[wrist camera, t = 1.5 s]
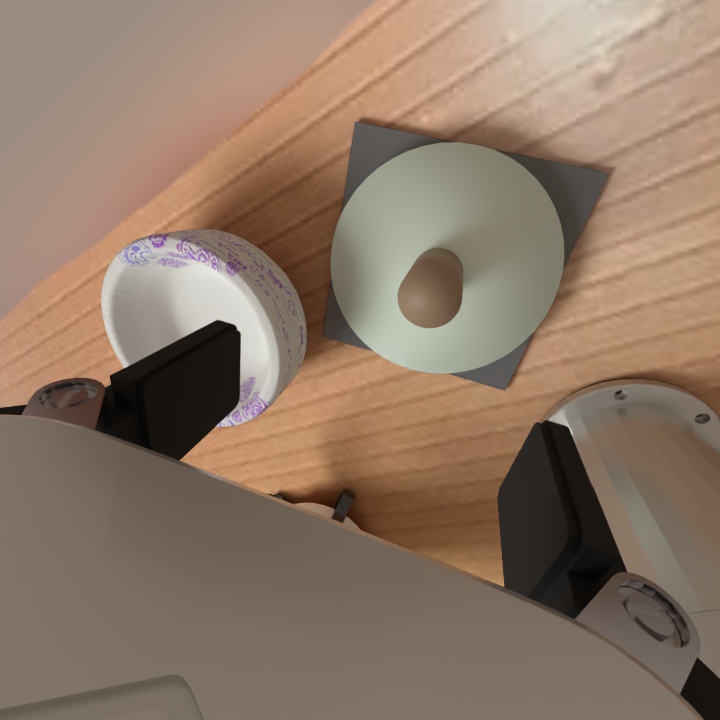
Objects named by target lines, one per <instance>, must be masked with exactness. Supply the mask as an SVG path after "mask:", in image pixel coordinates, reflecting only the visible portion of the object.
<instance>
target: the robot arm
mask: <svg viewBox="0 0 720 720" xmlns="http://www.w3.org/2000/svg"><path fill="white" fill-rule="evenodd" d="M240 358H241V333H240V331H239V330H237V327H236V326H235V325H234V324H231V323H227V322H224V321H221V320H216V321H214V322H212V323H210V324H208V325H206V326H204V327H202V328H200V329H198V330H196V331H195V332H193V333H191V334H189V335H187V336H185V337H183V338H181V339H179V340H177V341H175V342H174V343H172V344H170V345H168V346H166V347H164V348H162V349H160V350H158V351H156V352H154V353H152V354H151V355H149V356H147V357H145V358H143V359H141V360H139V361H137V362H135V363H133V364H131V365H130V366H128V367H126V368H124V369H122V370H120V371H118V372H116V373H114V374H112V375H110V380H111V385H109V386H108V387H106V388H105V386H104V385H103V384H102V383H101V382H99V381H97V380H94V379H89V378H71V379H64V380H60V381H56V382H53V383H51V384H48V385H46V386H43V387H42V388H40V389H39V390H37V391H36V392H35V393H34V394H33V395H32V397H31V398H30V400H29V402H28V404H27V405H21V406H12V407H4V408H0V720H720V419H719V418H718V416H717V415H716V414H715V413H714V412H713V411H712V410H711V409H710V408H709V407H708V406H707V405H706V404H705V403H704V402H703V401H702V400H700V399H699V398H698V397H696V396H695V395H694V394H692V393H690V392H688V391H686V390H684V389H682V388H680V387H678V386H675V385H671V384H668V383H664V382H660V381H654V380H645V379H620V380H614V381H608V382H602V383H599V384H595V385H592V386H589V387H586V388H583V389H581V390H579V391H577V392H575V393H573V394H571V395H569V396H568V397H566V398H565V399H563V400H562V401H560V402H559V403H558V404H556V405H555V406H554V407H553V408H552V409H551V410H550V411H549V412H548V413H547V414H546V416H545V417H544V419H543V420H542V422H541V423H538V422H537V423H535V424H534V426H533V428H532V429H531V431H530V433H529V435H528V437H527V439H526V440H525V442H524V444H523V446H522V448H521V450H520V452H519V453H518V455H517V457H516V459H515V461H514V463H513V465H512V466H511V468H510V470H509V472H508V474H507V476H506V477H505V479H504V481H503V483H502V485H501V487H500V489H499V493H498V510H499V523H500V535H501V548H502V560H503V573H504V586H505V587H502V586H500V585H497V584H495V583H492V582H490V581H488V580H485V579H483V578H480V577H478V576H475V575H473V574H470V573H468V572H465V571H463V570H460V569H458V568H456V567H453V566H451V565H448V564H446V563H443V562H441V561H438V560H435V559H433V558H430V557H428V556H425V555H423V554H420V553H418V552H415V551H412V550H410V549H407V548H405V547H402V546H400V545H397V544H395V543H392V542H389V541H387V540H384V539H382V538H379V537H377V536H374V535H372V534H369V533H367V532H364V531H361V530H359V529H356V528H354V527H351V526H349V525H346V524H343V523H341V522H338V521H336V520H333V519H331V518H328V517H325V516H323V515H320V514H318V513H315V512H312V511H310V510H307V509H305V508H302V507H299V506H297V505H294V504H292V503H289V502H287V501H284V500H281V499H279V498H276V497H273V496H271V495H268V494H266V493H263V492H260V491H258V490H255V489H253V488H250V487H247V486H245V485H242V484H240V483H237V482H234V481H232V480H229V479H226V478H224V477H221V476H219V475H216V474H213V473H211V472H208V471H205V470H203V469H200V468H197V467H195V466H192V465H189V464H187V463H184V462H182V461H179V460H180V459H181V458H183V457H184V456H185V455H186V454H187V453H188V452H189V451H190V450H191V449H192V448H193V447H194V446H195V445H196V444H197V443H199V442H200V441H201V440H202V439H203V438H204V437H205V436H206V435H207V434H208V433H209V432H210V431H211V430H212V429H214V428H215V427H216V426H217V425H218V424H219V423H220V422H221V421H222V420H223V419H224V418H225V417H226V416H227V415H228V414H230V413H231V412H232V411H233V410H234V409H235V408H236V406H237V405H238V403H239V399H240Z"/></svg>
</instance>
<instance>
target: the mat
mask: <svg viewBox="0 0 720 720" xmlns="http://www.w3.org/2000/svg"><path fill="white" fill-rule="evenodd" d="M451 142H453V141H448V140H443V139H438V138H433V137H428V136H423V135H418V134H413V133H408V132H403V131H398V130H393V129H388V128H383V127H379V126H374V125H369V124H364V123H359V122H355V125H354V132H353V139H352V145H351V152H350V159H349V165H348V172H347V179H346V185H345V192H344V199H343V205H342V212H343V210H344V208H345V206H346V204H347V203H348V201H349V200H350V198H351V197H352V195H353V194H354V192H355V191H356V190H357V188H358V187H359V186H360V185H361V184H362V183H363V181H364V180H365V179H366V178H367V177H369V176H370V175H371V174H372V173H373V172H374V171H375V170H376V169H377V168H379V167H380V166H382V165H383V164H385V163H386V162H388V161H389V160H391V159H392V158H394V157H396V156H398V155H401V154H403V153H405V152H407V151H409V150H412V149H415V148H419V147H422V146H426V145H431V144H437V143H451ZM496 151H497V150H496ZM498 152H500V153H502V154H504V155H506V156H509V157H510V158H512V159H513V160H515V161H516V162H518V163H519V164H521V165H522V166H523V167H525V168H526V169H527V170H528V171H529V172H530V173H531V174H532V175H533V176H534V177H535V178H536V179H537V180H538V181H539V183H540V184H541V185H542V187H543V188H544V189H545V191H546V192H547V194H548V195H549V197H550V199H551V201H552V203H553V205H554V206H555V209H556V212H557V215H558V217H559V220H560V223H561V228H562V233H563V239H564V265H563V269H564V266H565V264H566V262H567V260H568V258H569V256H570V254H571V252H572V250H573V248H574V246H575V243H576V241H577V239H578V237H579V235H580V233H581V231H582V229H583V227H584V225H585V222H586V220H587V218H588V216H589V214H590V212H591V210H592V208H593V206H594V204H595V202H596V199H597V197H598V195H599V193H600V191H601V189H602V187H603V185H604V183H605V181H606V178H607V176H608V174H609V173H606V172H601V171H596V170H591V169H586V168H581V167H576V166H571V165H567V164H562V163H557V162H552V161H547V160H542V159H537V158H532V157H527V156H522V155H517V154H512V153H507V152H502V151H498ZM342 212H341V214H342ZM532 334H533V333H532ZM532 334H531V335H530V336H529V337H528V338H527V339H526V340H525V341H524V342H523V343H522V344H521V345H519V346H518V347H517V348H516V349H514V350H513V351H512V352H510V353H508V354H507V355H505V356H504V357H502V358H500V359H498V360H496V361H494V362H492V363H490V364H488V365H485V366H482V367H479V368H476V369H473V370H468V371H464V372H458V373H448V374H451V375H454V376H458V377H461V378H464V379H468V380H471V381H474V382H478V383H481V384H485V385H488V386H491V387H495V388H498V389H501V390H506V388H507V386H508V384H509V382H510V380H511V378H512V376H513V373H514V371H515V369H516V367H517V365H518V363H519V361H520V359H521V357H522V355H523V352H524V350H525V348H526V346H527V344H528V342H529V340H530V338H531V336H532ZM323 337H327V338H330V339H333V340H337V341H340V342H343V343H347V344H350V345H354V346H357V347H360V348H364V349H367V350H370V351H373V350H372V349H371V348H369V347H368V346H367V345H366V344H365V343H364V342H363V341H362V340H361V339H360V338H359V337H358V336H357V335H356V334H355V332H354V331H353V330H352V328H351V327H350V326H349V324H348V323H347V321H346V319H345V317H344V316H343V314H342V312H341V310H340V307H339V305H338V303H337V300H336V296H335V293H334V290H333V284H332V278H331V285H330V292H329V298H328V305H327V312H326V318H325V325H324V331H323Z"/></svg>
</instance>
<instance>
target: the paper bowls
mask: <svg viewBox="0 0 720 720" xmlns="http://www.w3.org/2000/svg"><path fill="white" fill-rule="evenodd" d="M101 303H102V314H103V320H104V324H105V328H106V331H107V334H108V337H109V340H110V343H111V345H112V347H113V349H114V351H115V353H116V355H117V357H118V359H119V360H120V362H121V363H122V365H123V367H124V368H126V367H128V366H130V365H131V364H133V363H135V362H137V361H139V360H141V359H143V358H145V357H147V356H149V355H151V354H152V353H154V352H156V351H158V350H160V349H162V348H164V347H166V346H168V345H170V344H172V343H174V342H175V341H177V340H179V339H181V338H183V337H185V336H187V335H189V334H191V333H193V332H195V331H196V330H198V329H200V328H202V327H204V326H206V325H208V324H210V323H212V322H214V321H216V320H221V321H224V322H227V323H231V324H234V325H235V326H236V327H237V330H239V331H240V333H241V358H240V399H239V403H238V405H237V406H236V408H235V409H234V410H233V411H232V412H231V413H230V414H228V415H227V416H226V417H225V418H224V419H223V420H222V421H221V422H220V423H219V424H218V425H217V426H222V427H225V426H233V425H239V424H242V423H245V422H248V421H250V420H253V419H254V418H256V417H257V416H259V415H260V414H262V413H263V412H264V411H265V410H266V409H268V408H269V406H271V405H272V404H273V402H274V401H275V400H276V399H277V397H278V396H279V395H280V394H281V393H282V392H283V391H284V390H285V389H286V388H287V386H288V385H289V384H290V383H291V381H292V380H293V379H294V378H295V376H296V374H297V373H298V371H299V369H300V367H301V365H302V362H303V360H304V356H305V352H306V346H307V329H306V320H305V315H304V310H303V307H302V305H301V302H300V299H299V296H298V293H297V291H296V289H295V288H294V286H293V285H292V283H291V282H290V280H289V278H288V277H287V275H286V274H285V273H284V272H283V270H282V269H281V268H280V267H279V266H278V265H277V264H276V263H275V262H274V261H273V260H272V259H271V258H270V257H269V256H268V255H267V254H266V253H264V252H263V251H262V250H260V249H259V248H257V247H256V246H255V245H252V244H251V243H249V242H248V241H247V240H245V239H243V238H240V237H239V236H235V235H233V234H231V233H228V232H224V231H220V230H213V229H192V230H183V231H176V232H169V233H163V234H154V235H151V236H146V237H143V238H140V239H137V240H135V241H133V242H132V243H130V244H129V245H127V246H126V247H125V248H123V249H122V250H121V251H120V252H119V253H118V254H117V255H116V257H115V258H114V259H113V261H112V262H111V264H110V266H109V268H108V270H107V272H106V274H105V278H104V282H103V287H102V296H101Z"/></svg>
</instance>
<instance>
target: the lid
mask: <svg viewBox="0 0 720 720" xmlns="http://www.w3.org/2000/svg"><path fill="white" fill-rule="evenodd" d="M330 264H331V278H332V284H333V290H334V293H335V296H336V300H337V303H338V305H339V307H340V310H341V312H342V314H343V316H344V317H345V319H346V321H347V323H348V324H349V326H350V327H351V328H352V330H353V331H354V332H355V334H356V335H357V336H358V337H359V338H360V339H361V340H362V341H363V342H364V343H365V344H366V345H367V346H368V347H369V348H371V349H372V350H373V351H374V352H376V353H377V354H379V355H380V356H382V357H383V358H385V359H387V360H389V361H391V362H393V363H395V364H397V365H399V366H402V367H405V368H408V369H411V370H416V371H420V372H427V373H442V374H448V373H458V372H464V371H468V370H473V369H476V368H479V367H482V366H485V365H488V364H490V363H492V362H494V361H496V360H498V359H500V358H502V357H504V356H505V355H507V354H508V353H510V352H512V351H513V350H514V349H516V348H517V347H518V346H519V345H521V344H522V343H523V342H524V341H525V340H526V339H527V338H528V337H529V336H530V335H531V334H532V333H533V332H534V331H535V330H536V329H537V327H538V326H539V325H540V323H541V322H542V321H543V319H544V318H545V316H546V314H547V313H548V311H549V309H550V307H551V306H552V304H553V301H554V299H555V296H556V294H557V292H558V289H559V285H560V281H561V277H562V273H563V265H564V239H563V233H562V228H561V223H560V220H559V217H558V215H557V212H556V209H555V206H554V205H553V203H552V201H551V199H550V197H549V195H548V194H547V192H546V191H545V189H544V188H543V187H542V185H541V184H540V183H539V181H538V180H537V179H536V178H535V177H534V176H533V175H532V174H531V173H530V172H529V171H528V170H527V169H526V168H525V167H523V166H522V165H521V164H519V163H518V162H516V161H515V160H513V159H512V158H510V157H509V156H506V155H504V154H502V153H500V152H498V151H496V150H493V149H490V148H487V147H483V146H480V145H476V144H468V143H460V142H451V143H437V144H431V145H426V146H422V147H419V148H415V149H412V150H409V151H407V152H405V153H403V154H401V155H398V156H396V157H394V158H392V159H391V160H389V161H388V162H386V163H385V164H383V165H382V166H380V167H379V168H377V169H376V170H375V171H374V172H373V173H372V174H371V175H370V176H369V177H367V178H366V179H365V180H364V181H363V183H362V184H361V185H360V186H359V187H358V188H357V190H356V191H355V192H354V194H353V195H352V197H351V198H350V200H349V201H348V203H347V204H346V206H345V208H344V210H343V212H342V214H341V216H340V218H339V221H338V224H337V227H336V230H335V233H334V238H333V242H332V248H331V260H330Z"/></svg>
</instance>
